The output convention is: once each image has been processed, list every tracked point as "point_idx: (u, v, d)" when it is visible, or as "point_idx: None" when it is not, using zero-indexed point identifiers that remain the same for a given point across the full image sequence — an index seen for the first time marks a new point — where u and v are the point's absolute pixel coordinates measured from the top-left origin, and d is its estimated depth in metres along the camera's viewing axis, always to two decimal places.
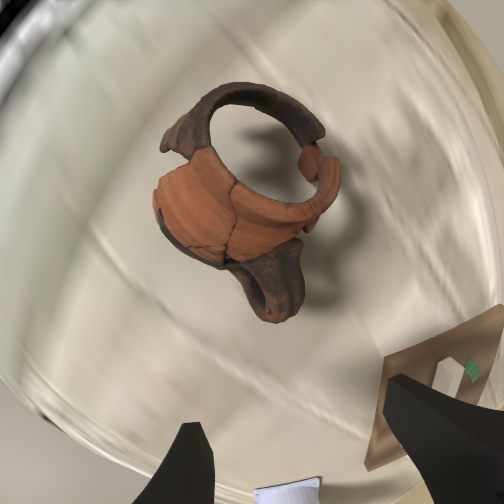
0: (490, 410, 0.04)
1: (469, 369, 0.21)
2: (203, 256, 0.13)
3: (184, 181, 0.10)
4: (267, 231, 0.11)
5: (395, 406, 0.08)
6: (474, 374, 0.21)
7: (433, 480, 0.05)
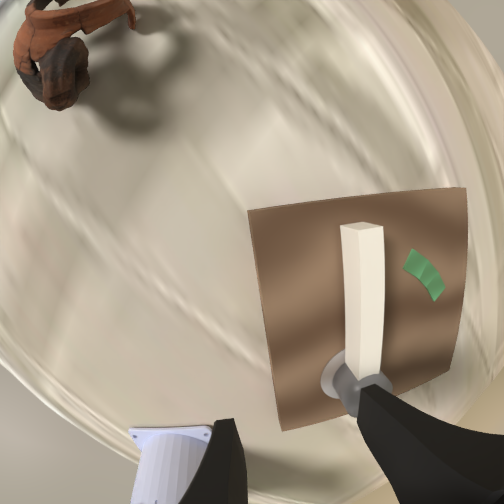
0: (464, 430, 0.04)
1: (419, 270, 0.18)
2: (25, 71, 0.09)
3: (21, 27, 0.07)
4: (50, 32, 0.08)
5: (367, 417, 0.08)
6: (432, 284, 0.18)
7: (404, 496, 0.05)
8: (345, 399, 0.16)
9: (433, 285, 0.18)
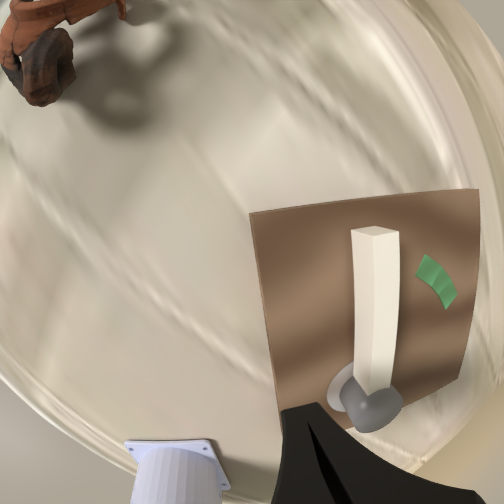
0: (395, 470, 0.04)
1: (432, 277, 0.16)
2: (8, 66, 0.08)
3: (6, 21, 0.06)
4: (33, 24, 0.06)
5: None
6: (444, 291, 0.16)
7: None
8: (354, 415, 0.14)
9: (445, 292, 0.16)
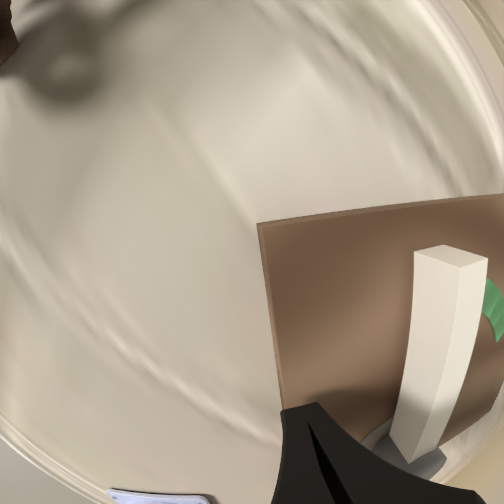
0: (395, 470, 0.04)
1: (491, 307, 0.10)
2: None
3: None
4: None
5: None
6: (499, 321, 0.11)
7: None
8: None
9: (500, 323, 0.11)
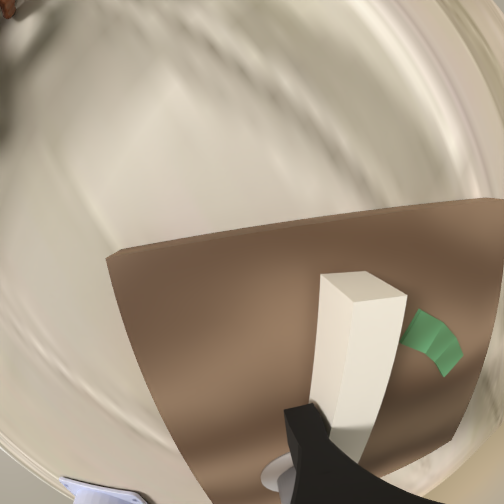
0: (373, 479, 0.04)
1: (427, 341, 0.10)
2: None
3: None
4: None
5: (289, 440, 0.08)
6: (444, 355, 0.10)
7: None
8: None
9: (446, 357, 0.10)
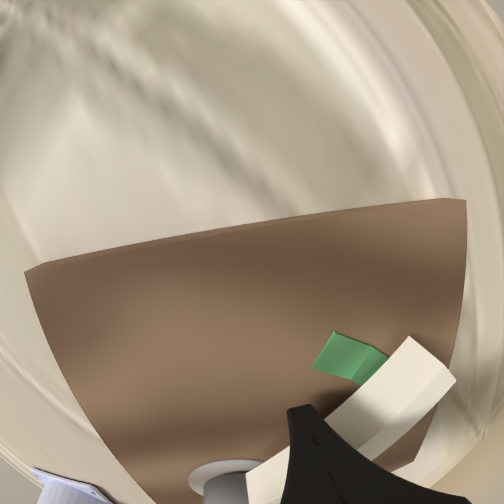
0: (386, 474, 0.04)
1: (351, 367, 0.09)
2: None
3: None
4: None
5: None
6: None
7: None
8: None
9: None
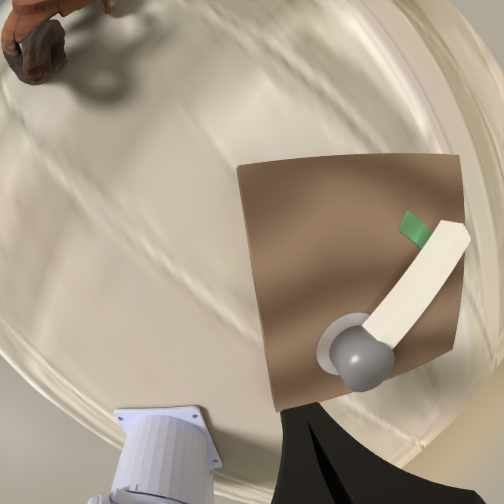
0: (395, 470, 0.04)
1: (416, 234, 0.17)
2: (10, 53, 0.09)
3: (8, 16, 0.07)
4: (32, 17, 0.07)
5: None
6: None
7: None
8: (358, 350, 0.15)
9: None
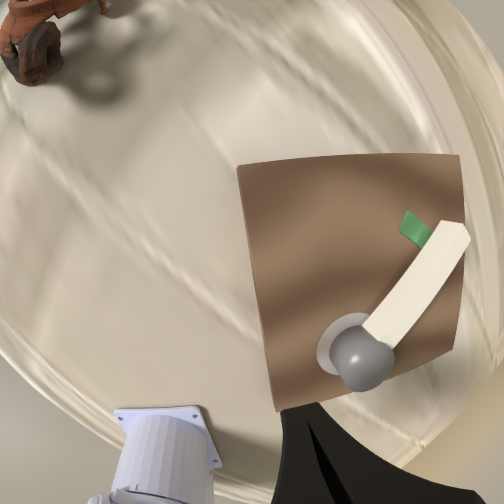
0: (395, 470, 0.04)
1: (416, 234, 0.17)
2: (7, 55, 0.09)
3: (5, 18, 0.07)
4: (28, 19, 0.07)
5: None
6: None
7: None
8: (358, 350, 0.15)
9: None
